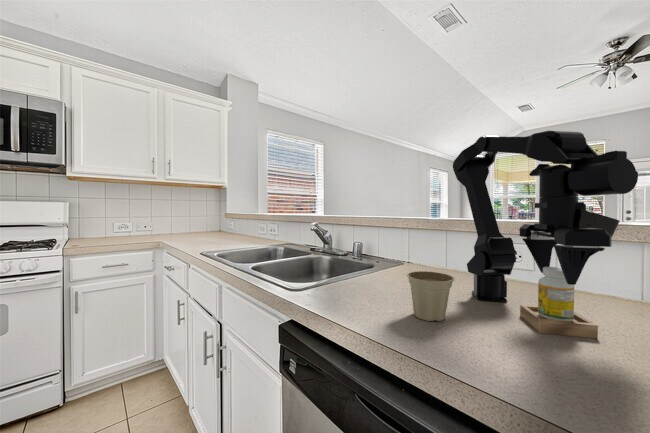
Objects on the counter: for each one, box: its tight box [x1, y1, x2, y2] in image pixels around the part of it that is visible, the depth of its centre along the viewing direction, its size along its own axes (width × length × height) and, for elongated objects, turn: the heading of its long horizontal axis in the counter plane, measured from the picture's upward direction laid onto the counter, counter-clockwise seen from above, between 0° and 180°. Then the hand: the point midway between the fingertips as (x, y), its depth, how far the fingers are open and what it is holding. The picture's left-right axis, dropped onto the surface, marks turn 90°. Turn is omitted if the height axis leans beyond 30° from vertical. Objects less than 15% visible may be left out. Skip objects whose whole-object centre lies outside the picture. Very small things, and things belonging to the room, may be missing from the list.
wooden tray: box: [519, 304, 599, 339], centre depth 53 cm, size 9×9×2 cm
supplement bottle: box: [537, 266, 575, 322], centre depth 53 cm, size 5×5×10 cm
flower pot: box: [406, 270, 456, 322], centre depth 58 cm, size 9×9×9 cm
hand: (556, 278), depth 53 cm, fingers open, 9 cm apart
